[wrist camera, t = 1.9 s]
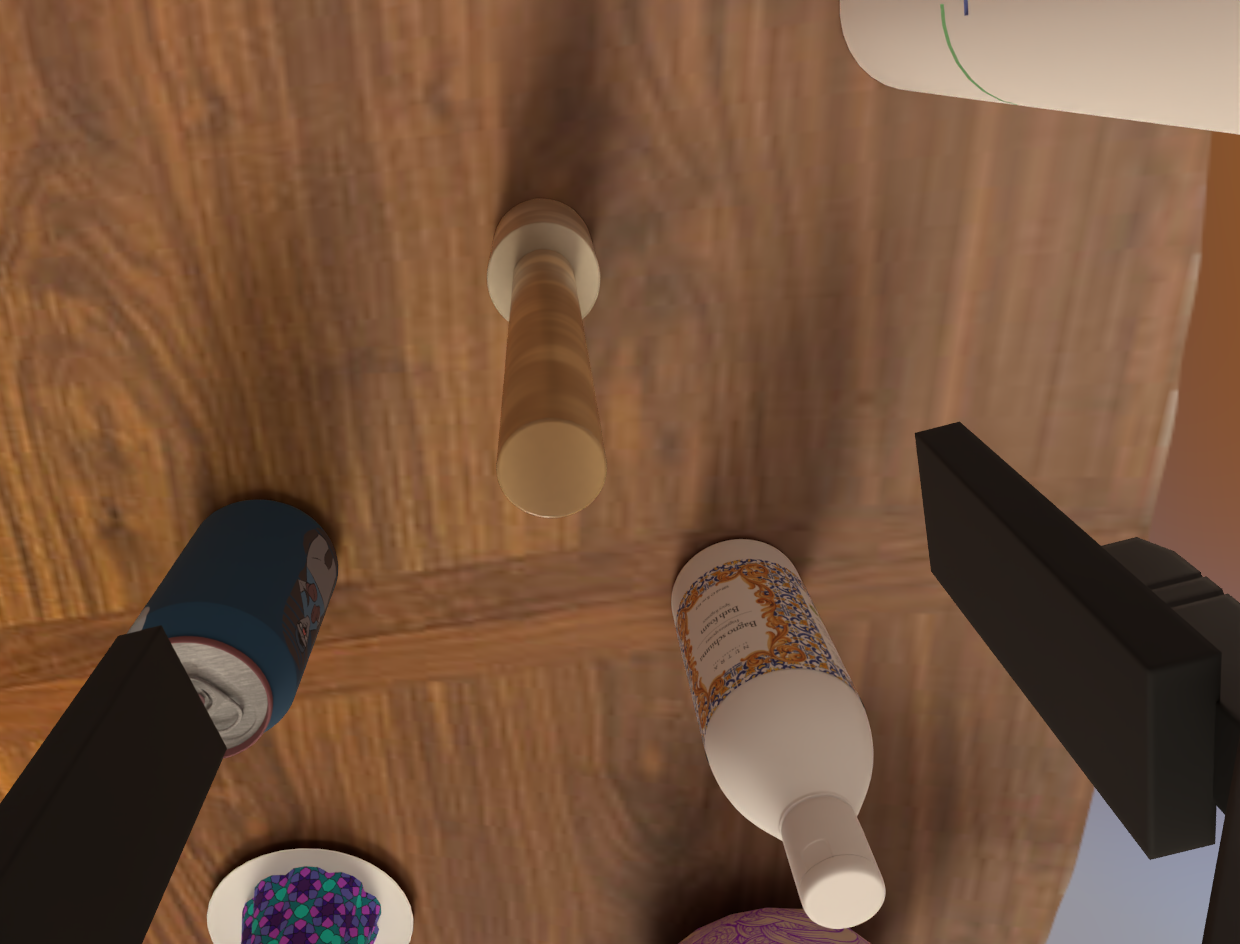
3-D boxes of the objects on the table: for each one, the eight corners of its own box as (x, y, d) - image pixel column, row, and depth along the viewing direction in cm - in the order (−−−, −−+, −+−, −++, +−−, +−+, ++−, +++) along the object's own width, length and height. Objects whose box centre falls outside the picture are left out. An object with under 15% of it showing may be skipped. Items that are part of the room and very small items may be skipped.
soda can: (169, 551, 47) (59, 706, 36) (259, 460, 45) (173, 593, 34) (282, 633, 49) (212, 801, 39) (371, 549, 48) (324, 700, 37)
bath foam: (751, 509, 49) (880, 789, 30) (822, 598, 51) (980, 904, 33) (643, 585, 50) (705, 896, 32) (718, 667, 53) (814, 999, 34)
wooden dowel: (577, 186, 41) (627, 350, 20) (602, 283, 43) (672, 531, 21) (480, 212, 42) (421, 403, 20) (508, 308, 43) (484, 579, 22)
